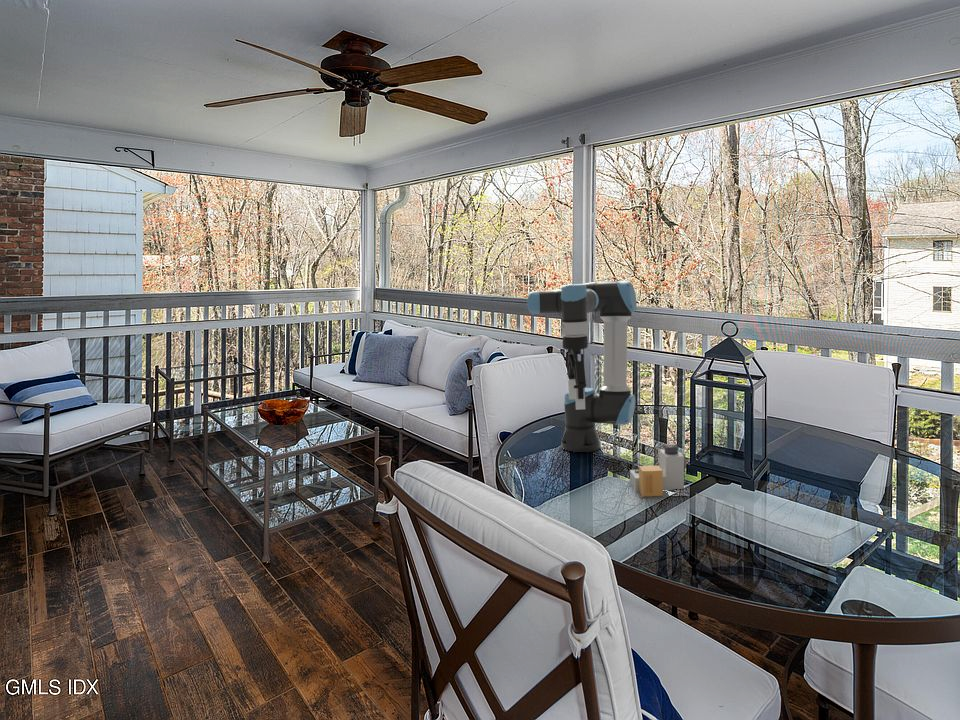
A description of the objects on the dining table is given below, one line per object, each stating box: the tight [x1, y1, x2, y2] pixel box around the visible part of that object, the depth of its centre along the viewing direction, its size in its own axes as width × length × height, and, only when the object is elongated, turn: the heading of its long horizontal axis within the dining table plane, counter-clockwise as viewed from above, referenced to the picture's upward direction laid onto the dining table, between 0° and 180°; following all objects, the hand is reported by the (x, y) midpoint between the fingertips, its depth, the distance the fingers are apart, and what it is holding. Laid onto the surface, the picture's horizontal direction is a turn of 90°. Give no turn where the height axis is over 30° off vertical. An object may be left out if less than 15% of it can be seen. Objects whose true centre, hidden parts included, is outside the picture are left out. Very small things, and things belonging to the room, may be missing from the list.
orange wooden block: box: [638, 465, 663, 497], centre depth 174 cm, size 6×5×8 cm
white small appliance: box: [629, 444, 685, 499], centre depth 178 cm, size 15×12×13 cm
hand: (576, 404), depth 175 cm, fingers open, 13 cm apart
